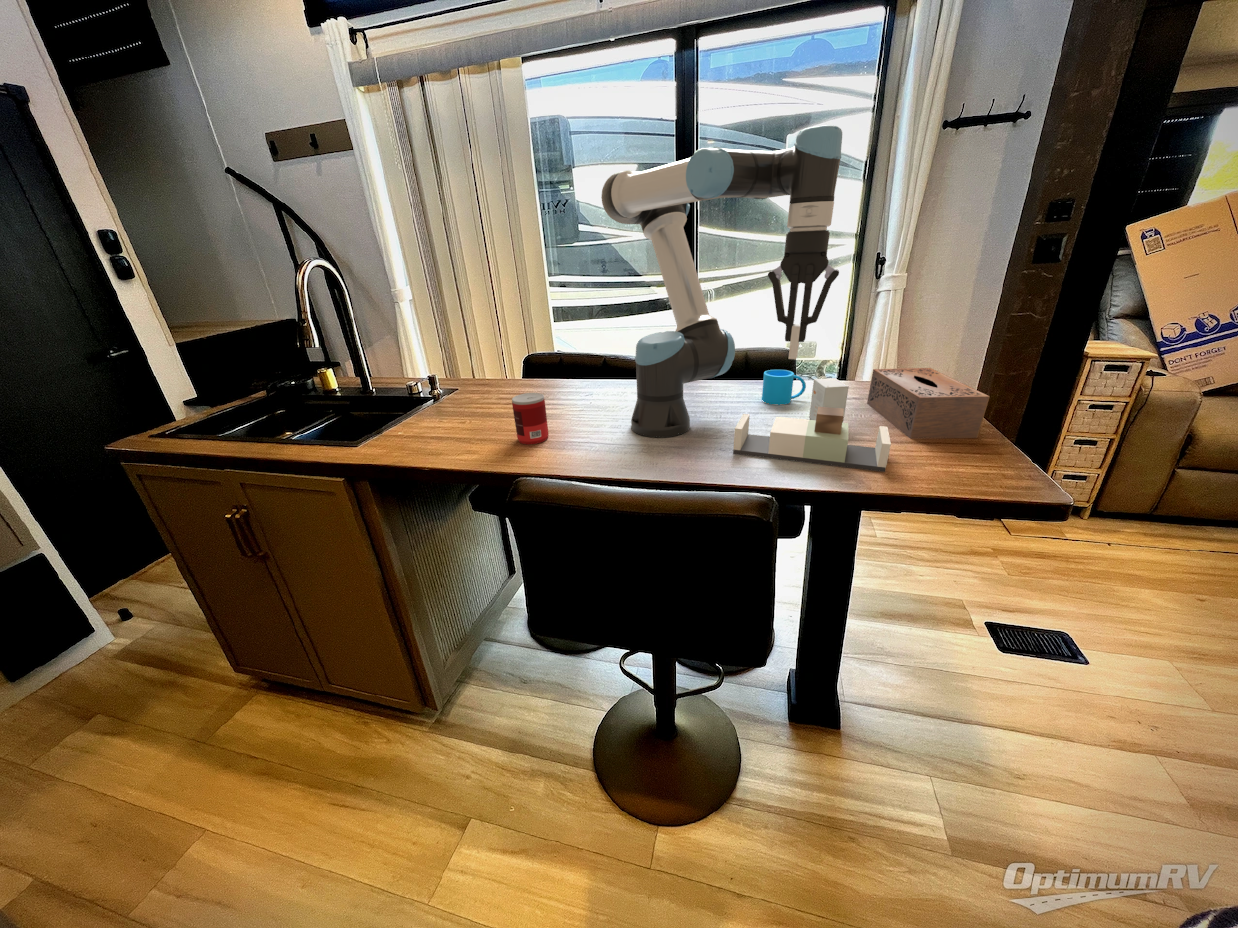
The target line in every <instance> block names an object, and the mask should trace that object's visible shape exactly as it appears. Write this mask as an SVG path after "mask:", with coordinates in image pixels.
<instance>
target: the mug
mask: <svg viewBox="0 0 1238 928" xmlns="http://www.w3.org/2000/svg"><path fill="white" fill-rule="evenodd" d="M794 379H797V380H798V381H800V383H801V386H802V387H801V389H800V391H799V392H798V393H797V394H794V395H792V394H793V386H794ZM806 387H807V385H806V381H805V379H804V378H802V377H801V376H798V375H796V374H795V373H794V372H793V371H791V370H787V369H770V370H769V369H768V370H765V371H764V372H763V381H762V393H761V395H762V396H761V401H762V400H763V401H764V402H766V403H765V404H767V403H769V404H768V405H772V404H778V405H777V406H781V405H780V404H784V405H788V404H790V403H791V402H792V400H794V399H797V398H798V397H801V396H802V395H803V394H804V392H805V391H806ZM763 401H762V402H763ZM764 402H763V403H764Z"/></svg>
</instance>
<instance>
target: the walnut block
mask: <svg viewBox="0 0 1238 928" xmlns="http://www.w3.org/2000/svg"><path fill="white" fill-rule="evenodd" d="M843 415H844V416H845V414H844V409H843V408H830V407H818V410H817V416H816V423H815V431H814V432H819V433H829V434H839V435H840V434H841V428H842V422H843V423H844V421H843Z"/></svg>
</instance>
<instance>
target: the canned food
mask: <svg viewBox="0 0 1238 928" xmlns="http://www.w3.org/2000/svg"><path fill="white" fill-rule="evenodd" d="M511 404H512V406H511V407H512V412H513V413H512V414H513V418H514V424H515V431H516V437H517V440H518V442H519V443H520V444H522V445H528V446H530V445H537V444H541V443H543V442H545V441H547V439H548V438H549V427H548V426H549V425H548V418H547V417H548V416H547V410H546V409H547V408H546V401H545V396H544V394H543V393H540V392H526V393H519V394H518V395H515V396H513V397H512V398H511Z"/></svg>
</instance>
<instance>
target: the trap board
mask: <svg viewBox="0 0 1238 928" xmlns="http://www.w3.org/2000/svg"><path fill="white" fill-rule="evenodd" d="M750 417H751V416H750V413H748V414H747V413H742V415H741V417H740V418H739V420H738V422H737V424H736V426H735V427H734V432H733V433H734V434H733V436H734V437H733V455H742V456H751V457H759V458H767V459H774V460H775V459H776V460H783V461H791V462H801V463H805V464H806V463H808V464H815V465H816V464H817V465H824V466H832V467H833V466H834V467H840V468H848V469H854V470H855V469H857V470H866V471H872V472H881V473H886V469H887V465H888V459H889V457H890V456H889V455H890V451H891V445H892V443H891V438H890V437H891V436H890V434H889V429H888V426H883V425H879V427H878V430H877V431H878V432H877V437H876V440H875V447H873V446H872V447H871V446H863V445H853V444H849V422H843V423H842V428H841V434H840V435H839V434H829V433H819V432H814V431H815V423H816V420H811V419H804V418H794V417H785V416H784V417H783V416H776V417H775V419H774V422H773V424H772V427H771V430H770V434H769V436H768V435H767V436H766V435H759V434H749V429H750V427H749V426H750Z"/></svg>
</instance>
